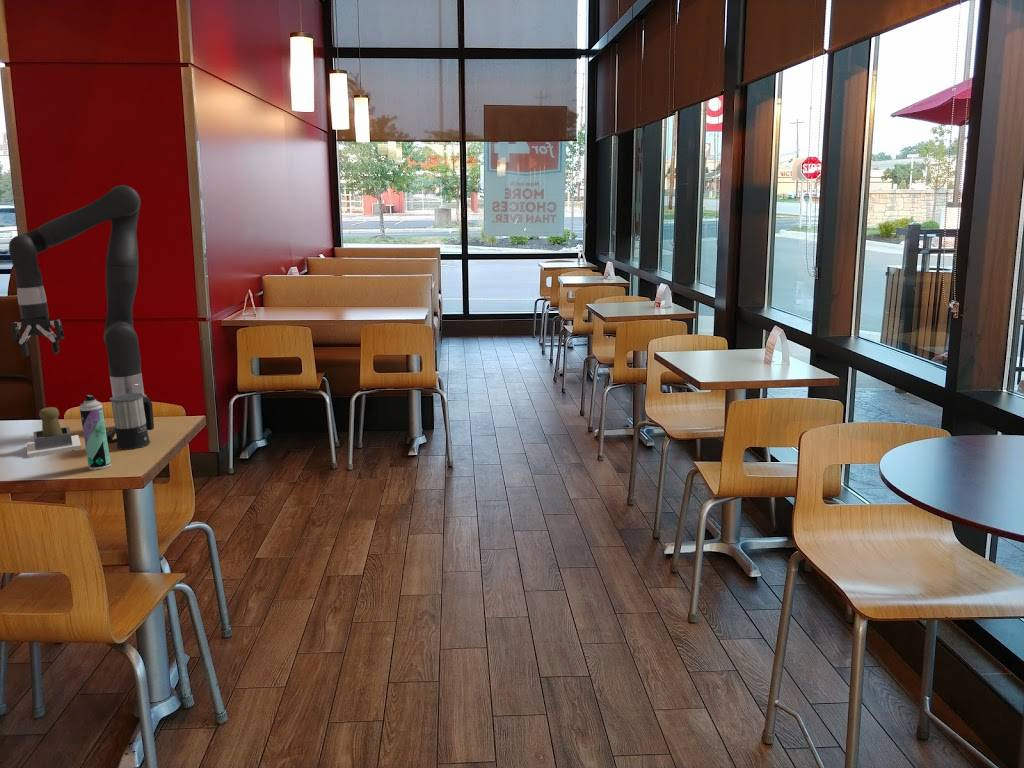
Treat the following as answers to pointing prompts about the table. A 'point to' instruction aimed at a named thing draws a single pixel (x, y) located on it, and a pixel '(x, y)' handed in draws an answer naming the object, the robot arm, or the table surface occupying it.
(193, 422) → the table surface
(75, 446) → the socket base
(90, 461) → the spray can
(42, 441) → the socket collar
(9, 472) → the table surface
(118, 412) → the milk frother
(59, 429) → the cork
